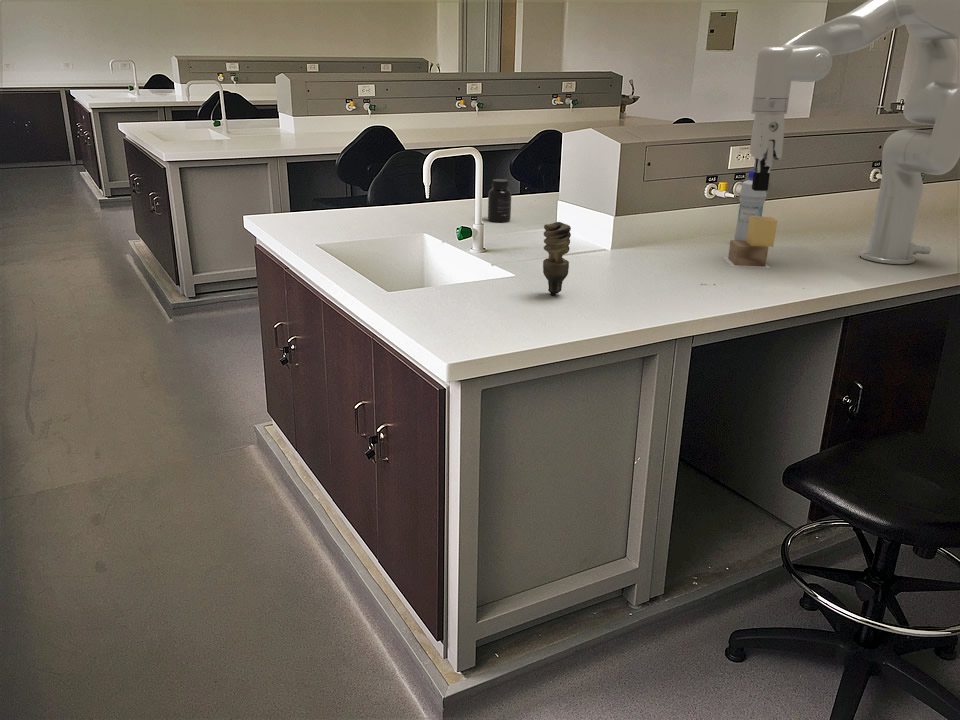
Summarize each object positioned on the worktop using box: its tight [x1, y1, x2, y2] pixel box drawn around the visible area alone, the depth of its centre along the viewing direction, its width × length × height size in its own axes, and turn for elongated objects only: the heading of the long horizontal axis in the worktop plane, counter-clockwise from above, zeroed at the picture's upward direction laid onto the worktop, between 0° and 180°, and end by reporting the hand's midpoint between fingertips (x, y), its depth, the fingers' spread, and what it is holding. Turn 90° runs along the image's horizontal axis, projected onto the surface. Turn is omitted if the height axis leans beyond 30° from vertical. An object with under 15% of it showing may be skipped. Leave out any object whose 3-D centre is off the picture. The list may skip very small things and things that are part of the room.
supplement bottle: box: [487, 178, 512, 224], centre depth 233 cm, size 7×7×12 cm
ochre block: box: [746, 216, 778, 248], centre depth 184 cm, size 5×5×6 cm
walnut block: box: [728, 239, 769, 267], centre depth 186 cm, size 7×7×4 cm
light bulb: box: [542, 221, 572, 296], centre depth 159 cm, size 6×6×15 cm
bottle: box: [733, 169, 768, 241], centre depth 207 cm, size 7×7×20 cm
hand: (759, 190), depth 181 cm, fingers closed
